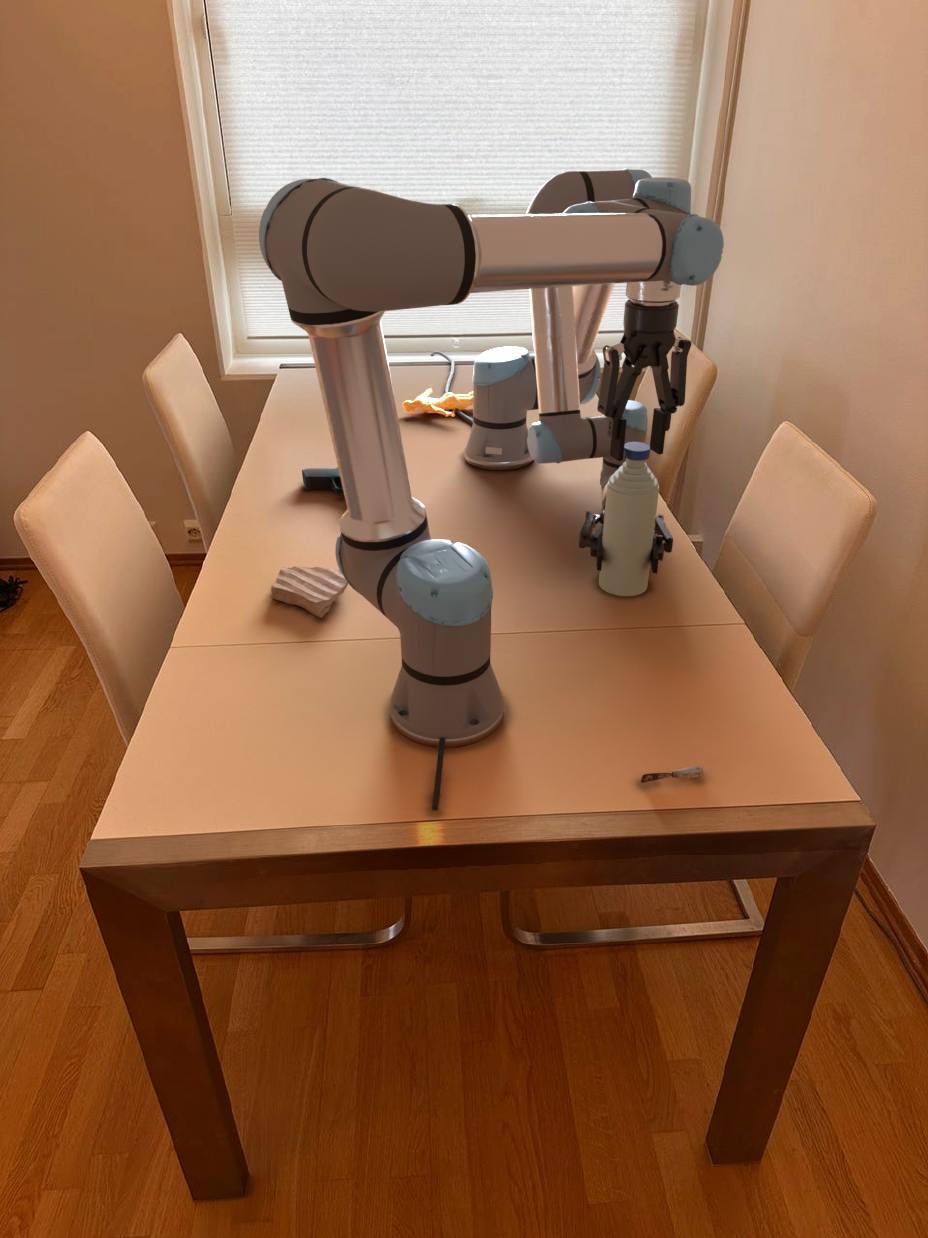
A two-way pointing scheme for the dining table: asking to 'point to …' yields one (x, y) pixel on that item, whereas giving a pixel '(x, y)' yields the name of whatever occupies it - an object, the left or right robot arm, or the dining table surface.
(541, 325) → the right robot arm
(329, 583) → the stone
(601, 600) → the dining table surface
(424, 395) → the human figure
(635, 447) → the cap
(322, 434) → the dining table surface
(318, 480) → the handgun
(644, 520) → the bottle
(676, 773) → the putty knife
